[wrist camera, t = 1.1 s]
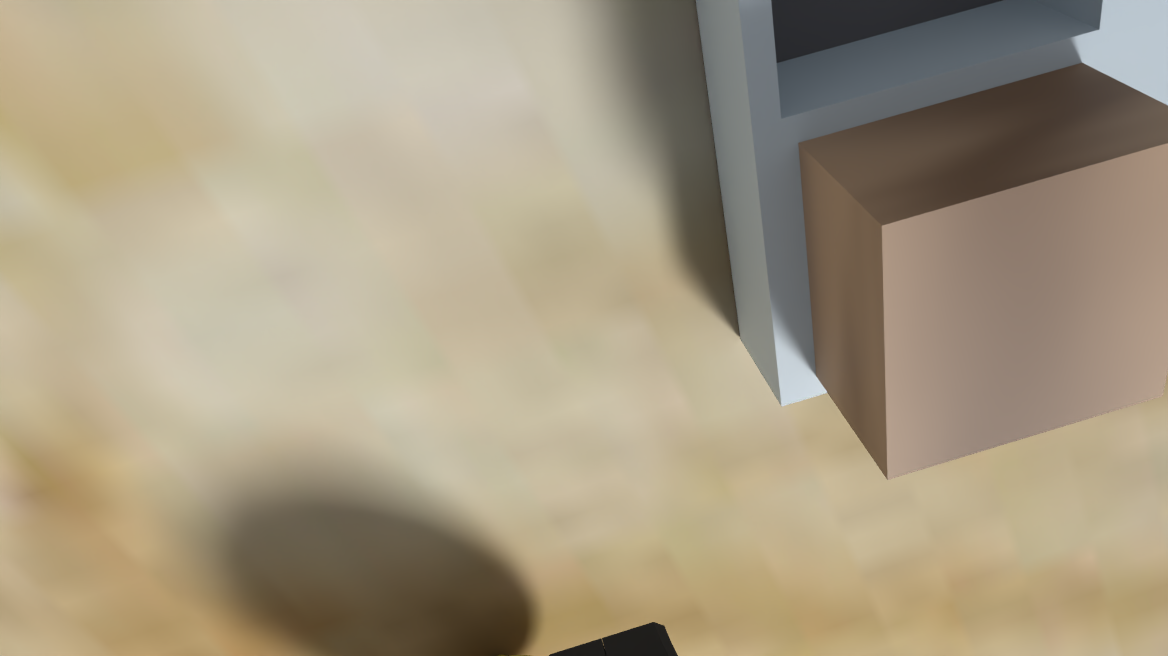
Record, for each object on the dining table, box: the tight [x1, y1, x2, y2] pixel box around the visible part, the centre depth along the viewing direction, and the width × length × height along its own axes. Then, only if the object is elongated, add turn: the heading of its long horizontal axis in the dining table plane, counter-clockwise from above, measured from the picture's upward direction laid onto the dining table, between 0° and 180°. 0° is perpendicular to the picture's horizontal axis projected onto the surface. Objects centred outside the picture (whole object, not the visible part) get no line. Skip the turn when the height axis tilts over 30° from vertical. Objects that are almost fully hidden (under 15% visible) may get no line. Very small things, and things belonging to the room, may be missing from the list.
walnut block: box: [798, 63, 1168, 480], centre depth 16 cm, size 5×5×3 cm
